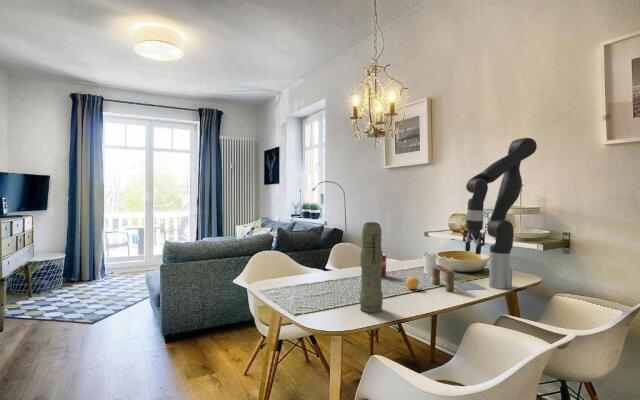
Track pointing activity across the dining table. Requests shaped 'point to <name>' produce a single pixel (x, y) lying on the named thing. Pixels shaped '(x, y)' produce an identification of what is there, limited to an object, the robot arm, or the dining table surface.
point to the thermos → (371, 269)
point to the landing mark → (469, 286)
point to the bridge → (448, 277)
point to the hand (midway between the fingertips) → (472, 252)
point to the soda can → (383, 270)
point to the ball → (412, 283)
